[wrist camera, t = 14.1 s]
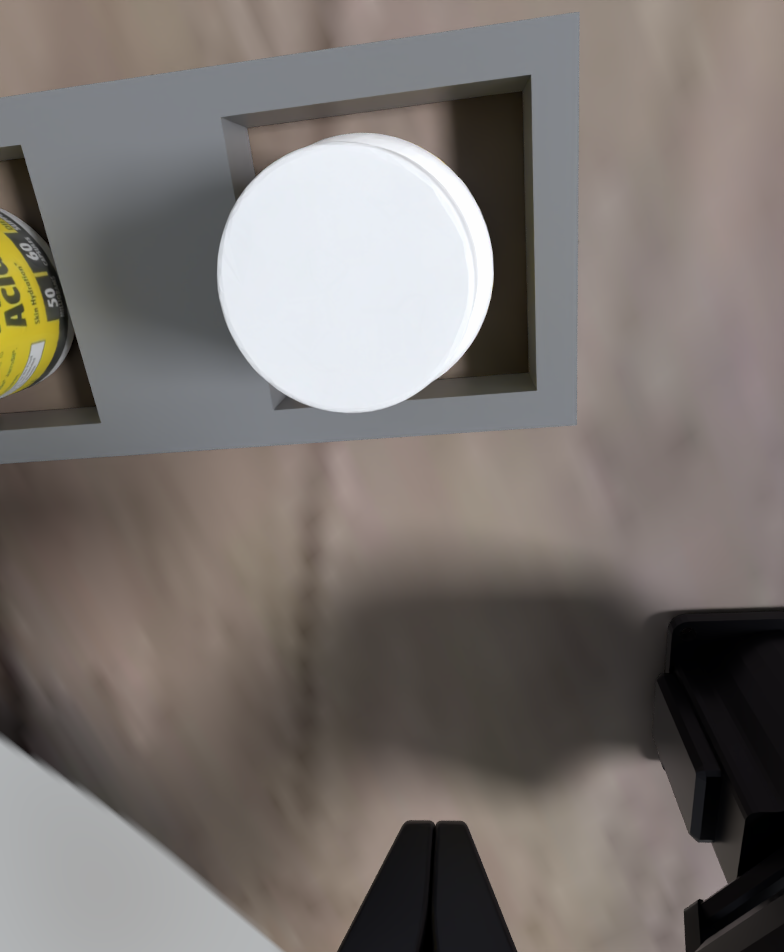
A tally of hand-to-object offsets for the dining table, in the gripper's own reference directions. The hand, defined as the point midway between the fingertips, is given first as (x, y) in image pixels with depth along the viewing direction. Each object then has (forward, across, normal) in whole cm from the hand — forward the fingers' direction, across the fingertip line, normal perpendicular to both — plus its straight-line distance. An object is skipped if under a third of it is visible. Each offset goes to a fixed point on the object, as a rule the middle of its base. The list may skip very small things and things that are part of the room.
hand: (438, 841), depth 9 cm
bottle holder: (+12, +7, -7) cm, 16 cm away
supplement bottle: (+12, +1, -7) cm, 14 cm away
